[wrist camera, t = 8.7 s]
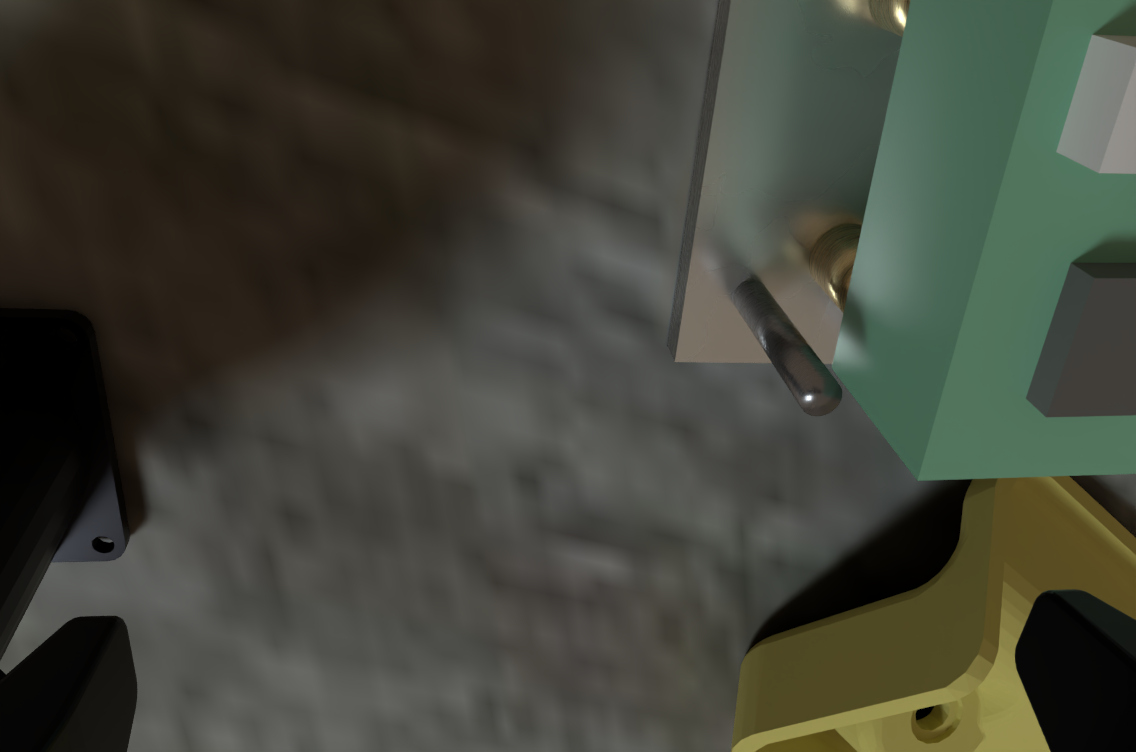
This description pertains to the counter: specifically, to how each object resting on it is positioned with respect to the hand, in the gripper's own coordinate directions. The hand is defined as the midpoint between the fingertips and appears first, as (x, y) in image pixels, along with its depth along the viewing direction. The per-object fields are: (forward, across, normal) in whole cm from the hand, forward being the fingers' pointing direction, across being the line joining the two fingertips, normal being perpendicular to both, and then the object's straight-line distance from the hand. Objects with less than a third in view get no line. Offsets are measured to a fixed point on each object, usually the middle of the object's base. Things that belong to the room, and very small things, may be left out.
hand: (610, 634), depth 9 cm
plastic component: (+13, -17, +16) cm, 27 cm away
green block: (+10, -9, -2) cm, 13 cm away
